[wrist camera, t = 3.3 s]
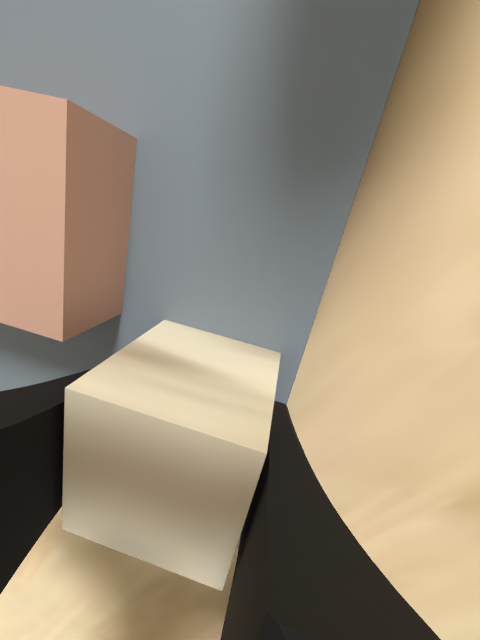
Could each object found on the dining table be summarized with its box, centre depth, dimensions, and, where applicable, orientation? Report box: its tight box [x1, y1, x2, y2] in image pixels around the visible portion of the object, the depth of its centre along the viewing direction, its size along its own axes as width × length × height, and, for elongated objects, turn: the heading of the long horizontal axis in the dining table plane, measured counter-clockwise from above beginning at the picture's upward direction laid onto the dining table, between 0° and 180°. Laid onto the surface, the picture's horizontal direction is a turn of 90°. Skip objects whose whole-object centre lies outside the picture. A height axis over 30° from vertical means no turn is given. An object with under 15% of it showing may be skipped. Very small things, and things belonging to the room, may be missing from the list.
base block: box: [0, 86, 137, 342], centre depth 9 cm, size 6×6×3 cm
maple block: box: [62, 320, 281, 591], centre depth 9 cm, size 4×4×5 cm
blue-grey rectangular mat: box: [0, 0, 420, 548], centre depth 11 cm, size 22×14×1 cm, turn 166°
